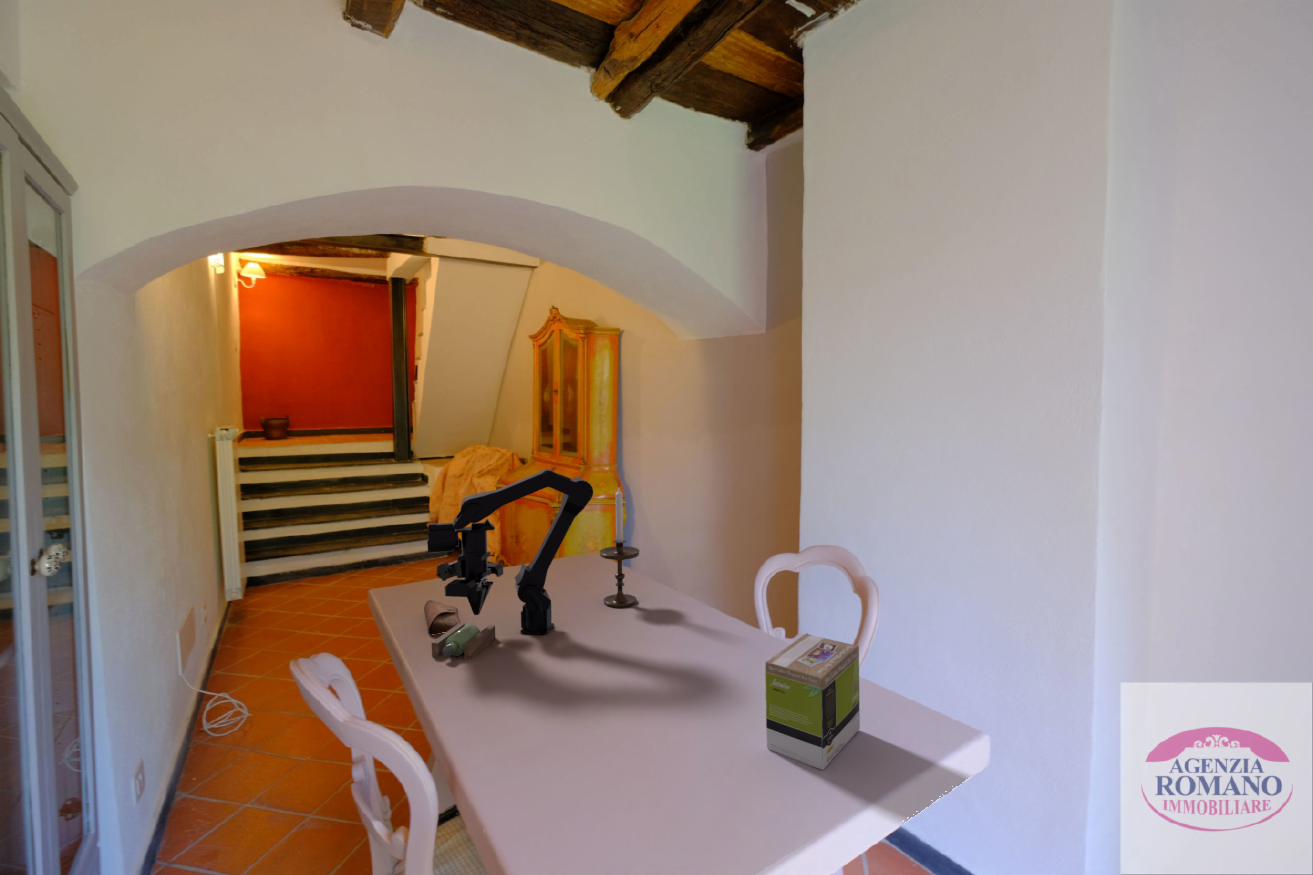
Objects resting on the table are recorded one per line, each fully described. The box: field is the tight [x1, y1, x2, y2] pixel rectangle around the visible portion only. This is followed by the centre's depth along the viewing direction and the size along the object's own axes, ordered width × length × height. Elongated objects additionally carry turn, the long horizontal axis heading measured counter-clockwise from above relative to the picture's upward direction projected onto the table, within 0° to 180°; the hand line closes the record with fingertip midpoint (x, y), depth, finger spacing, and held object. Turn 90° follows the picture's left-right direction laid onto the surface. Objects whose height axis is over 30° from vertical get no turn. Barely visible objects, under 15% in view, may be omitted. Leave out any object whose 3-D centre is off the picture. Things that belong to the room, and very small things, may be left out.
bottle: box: [442, 623, 481, 657], centre depth 136 cm, size 5×5×10 cm
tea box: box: [764, 633, 861, 771], centre depth 100 cm, size 15×10×15 cm, turn 141°
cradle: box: [431, 622, 496, 660], centre depth 139 cm, size 9×12×3 cm
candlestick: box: [599, 476, 640, 609], centre depth 168 cm, size 11×11×35 cm
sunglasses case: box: [423, 599, 462, 635], centre depth 156 cm, size 18×7×7 cm
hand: (476, 614), depth 145 cm, fingers closed
